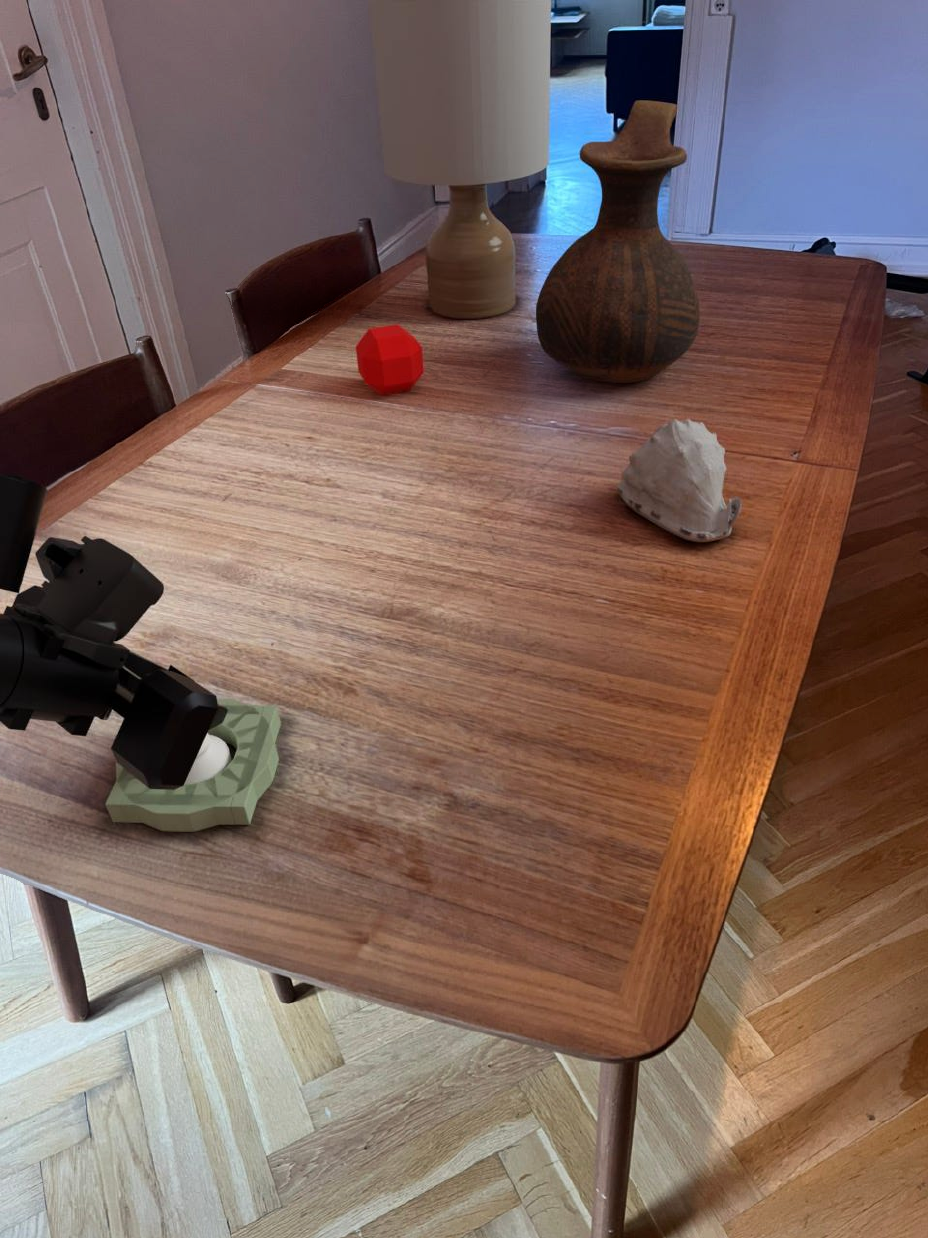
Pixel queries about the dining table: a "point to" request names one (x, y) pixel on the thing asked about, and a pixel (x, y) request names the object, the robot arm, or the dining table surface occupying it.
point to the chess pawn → (209, 760)
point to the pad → (218, 796)
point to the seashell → (681, 482)
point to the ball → (389, 359)
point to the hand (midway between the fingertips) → (196, 696)
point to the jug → (623, 265)
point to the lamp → (464, 128)
